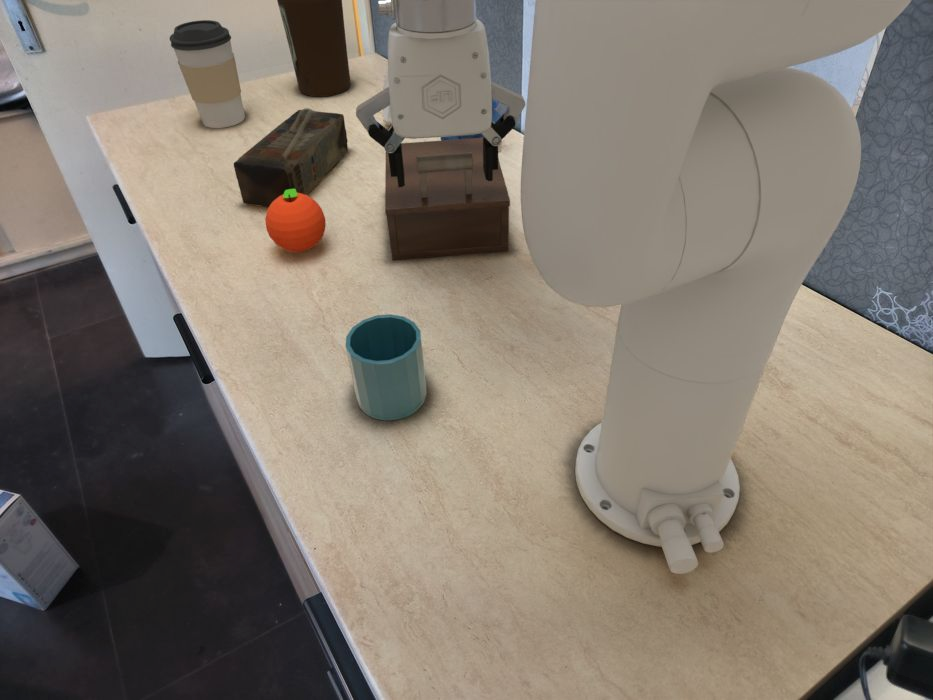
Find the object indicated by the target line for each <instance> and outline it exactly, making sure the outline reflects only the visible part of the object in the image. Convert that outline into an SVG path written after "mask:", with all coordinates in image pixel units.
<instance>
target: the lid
mask: <svg viewBox="0 0 933 700" xmlns="http://www.w3.org/2000/svg"><path fill="white" fill-rule="evenodd" d="M401 146H402V156H403V166H404V179H405V186H403V187H398V180H397V177H391V173H390V164H389V155H388V153H387V152H386V151H385V180H384V181H385V185H384V189H385V191H384V194H385V195H384V198H385V199H384V201H385V202H384V210H385V216H386V217H387V215H401V214H414V213H428V212H441V211H455V210H468V209H482V208H495V207H508V206H509V207H511V199H510V195H509V191H508V189H507V185H506V181H505V177H504V174H503V170H502V167H501V164H500V159H499V158H498V170H493V181H488V180H486V178H485V174H484V169H483V138H471V139H456V140H442V141H441V140H430V141H413V142H401Z"/></svg>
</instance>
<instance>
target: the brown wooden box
mask: <svg viewBox="0 0 933 700" xmlns="http://www.w3.org/2000/svg"><path fill="white" fill-rule="evenodd" d="M386 223H387V231H388V236H389V237H388V238H389V245H390V253H391V260H392V261H400V260H401V261H402V260H412V259H413V260H414V259H425V258H427V259H428V258H439V257H451V256H453V257H454V256H463V255H465V256H466V255H476V254H478V255H479V254H490V253H503V252H509V240H510V239H509V238H510V237H509V235H510V234H509V233H510V230H509V229H510V206H508V207H495V208H482V209H468V210H455V211H441V212H428V213H414V214H401V215H387V216H386Z"/></svg>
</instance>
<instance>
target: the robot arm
mask: <svg viewBox="0 0 933 700" xmlns="http://www.w3.org/2000/svg"><path fill="white" fill-rule="evenodd" d="M377 1H378V11H379V12H378V13H379V16H387V17H388V18H389V17H392V20H393V21H394V20H395V22H394V23H393V24H392V25H391V26H390V28H389V30H388V39H387V40H388V41H387V68H388V80H389V87H388V88H386V89H384V90H383V89H382V90H381V91H380V92H378V93H376V94H375V95H373V96H371V97H370V98H368V99H366V100H365V101H363V102H361V103H360V104H359V105H357V106H356V108H355V110H356V111H355V116H356V118H357V120H358V121H359V122H360V124H361V125H362V126H363V128H364V129H365V130H366V131H367V134H368V136H369V137H370V138H371V139H372V140H373V141H375V142H376V143H377V144H379V145H380V146H381V147H383V148H384V151H385V153H386V152H387V153H388V155H389V164H390V173H391V177H397V180H398V187H403V186H405V179H404V166H403V156H402V146H401V143H403V141H404V140H405V139H408V140H409V139H410V140H411V139H413V140H414V139H430V138H432V139H433V138H441V137H449V136H464V135H474V134H480V133H481V134H482V135H483V136H484V138H483V169H484V174H485V178H486V180H488V181H493V170H498V159H499V146H500V145H501V144H502V141H503V139H504V138H506V137H507V135H508V134H510V132H511V131H512V130H513V129H514V128H515V127H516V124H517V121H518V119H519V118H520V116H521V114H522V112H523V111H524V109H525V107H526V109H525V120H524V130H523V131H524V133H523V142H522V143H523V144H522V156H521V170H520V210H521V213H520V214H521V222H522V223H521V224H522V230H523V234H524V238H525V243H526V246H527V249H528V253H529V255H530V258H531V260H532V263H533V265H534V267H535V269H536V270H537V272H538V274H539V275H540V277H541V278H542V279H543V281H544V282H545V284H546V285H547V286H548V287H549V288H550V289H551V290H552V292H553V291H554V292H555V293H556V294H557V295H559V296H560V297H562V298H563V299H565V300H567V301H569V302H571V303H574V304H577V305H580V306H584V307H589V308H611V307H617V306H620V308H619V309H620V310H619V316H618V320H617V326H616V331H615V338H614V344H613V345H614V346H613V349H612V356H611V363H610V369H609V375H608V382H607V387H606V393H605V401H604V407H603V414H602V420H601V422H599V423H598V424H597V425H595V426H594V427H593V428H592V429H590V431H589V432H588V433H587V434H586V435H585V436H584V438H583V439H582V440H581V443H580V445H579V446H578V449H577V453H576V459H575V469H574V474H575V481H576V487H577V489H578V492H579V494H580V496H581V498H582V500H583V501H584V503H585V504H586V505H587V508H588V509H589V510H590V511H591V513H593V514H594V516H595V517H596V518H597V519H598V520H599V521H600V522H601V523H603V524H604V525H605V526H607V527H608V528H609V529H611V530H612V531H613V532H616V533H618V534H619V535H621V536H623V537H625V538H626V539H629V540H633V541H635V542H638V543H641V544H644V545H649V546H655V547H659V548H662V552H663V555H664V557H665V560H666V563H667V565H668V568H669V570H670V571H669V572H671V573H672V574H676V575H684V574H688V573H691V572H692V571H694V570H695V569H697V568H698V566H699V561H698V557H697V555H696V553H695V551H694V548H693V545H696V544H698V543H701V545H702V548H703V550H704V552H706V553H710V554H711V553H716V552H719V551H721V550H722V549H723V548H724V547H725V543H724V541H723V539H722V536H721V533H720V532H721V531H722V530H723V529H724V528H725V527H726V526H727V525H728V524H729V522H730V520H731V519H732V517H733V515H734V513H735V511H736V508H737V505H738V503H739V499H740V489H741V485H740V478H739V474H738V471H737V469H736V467H735V463H734V461H733V460H732V456H733V453H734V451H735V448H736V445H737V443H738V440H739V437H740V435H741V432H742V430H743V427H744V425H745V422H746V420H747V417H748V414H749V412H750V408H751V406H752V404H753V401H754V399H755V395H756V392H757V390H758V388H759V385H760V382H761V380H762V376H763V375H764V373H765V371H766V367H767V364H768V361H769V360H770V357H771V355H772V353H773V350H774V348H775V345H776V342H777V340H778V338H779V334H780V332H781V330H782V328H783V325H784V322H785V319H786V317H787V315H788V313H789V312H790V311H789V310H790V309H791V307H792V304H793V302H794V300H795V298H796V297H797V294H798V292H799V290H800V289H801V287H802V285H803V283H804V281H805V279H806V278H807V276H808V275H809V273H810V271H811V269H812V268H813V266H814V265H815V263H816V262H817V260H818V259H819V257H820V255H821V254H822V252H823V251H824V249H825V248H826V246H827V244H828V243H829V242H830V239H831V238H832V236H833V234H834V233H835V231H836V230H837V228H838V226H839V224H840V223H841V220H842V219H843V217H844V215H845V213H846V211H847V209H848V207H849V204H850V202H851V199H852V197H853V194H854V191H855V189H856V186H857V182H858V179H859V174H860V168H861V161H862V160H861V159H862V140H861V139H862V138H861V134H860V128H859V124H858V121H857V118H856V116H855V113H854V111H853V108H852V107H851V106H850V104H849V102H848V100H847V99H846V98H845V97H844V96H843V94H842V93H841V92H840V91H839V90H838V89H837V87H835V86H833V85H832V84H831V83H829V81H827V80H825V79H824V78H822V77H820V76H818V75H815V74H813V73H812V72H808V71H805V70H801V69H798V68H794V66H798V65H803V64H805V63H810V62H813V61H816V60H820V59H823V58H826V57H829V56H832V55H836V54H839V53H841V52H844V51H846V50H848V49H851V48H853V47H857V46H858V45H861V44H862V43H865V42H866V41H868V40H869V39H871V38H873V37H874V36H876V35H878V34H880V33H881V32H883V31H884V30H885V29H887V28H888V27H889V26H890V25H891V24H892V23H893V22H894V21H895V20H896V19H898V17H899V16H900V15H901V13H902V12H903V11H904V10H905V9H906V8H907V7H908V6H909V5H910V3H911V2H912V0H535V5H534V15H533V25H532V39H531V50H530V59H529V60H530V61H529V71H528V72H529V73H528V74H529V75H528V82H527V83H528V84H527V85H528V86H527V95H526V96H527V97H526V100H525V98H524V96H523V95H521V94H520V93H517V92H515V91H513V90H512V89H508V88H506V87H504V86H503V85H500V84H498V83H497V82H494V81H492V76H491V62H490V52H489V44H488V38H487V31H486V28H485V25H484V23H483V22H482V21H481V20H479V19H478V18H477V0H377ZM492 99H493V100H496V101H498V102H499V104H502V105H504V106H507V107H506V110H505V112H504V113H503V114H502V115H500V118H499V119H498V121H497V122H496V123H494V122H493V121H492ZM389 105H390V109H391V118H392V125H390V127H389V128H386V127H385V126H384V125H383V124H382V123H380V122H379V121H377V119H376V117H375V115H376V114H377V113H379V112H381V111H383V109H384V108H386V107H387V106H389Z"/></svg>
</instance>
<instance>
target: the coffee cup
mask: <svg viewBox="0 0 933 700" xmlns="http://www.w3.org/2000/svg"><path fill="white" fill-rule="evenodd" d="M231 39H232V35H231V34H230V31H229V29H228V28H227V27H224V26H222V24H221V23H220V22H219V21H217V20H211V19H210V20H209V19H207V20H206V19H203V20H193V21H188V22H184V23H181V24H178V25H177V26H175V27H174V29H173V33H172V34H171V35H170V36H169V41H170V47H171V48H173V51H174V53H175V56H176V58H177V64H178V66H179V67H178V68H179V69H180V72H181V75H182V76H183V77H182V78H183V79H184V82H185V84H186V86H187V89H188V92H189V94H190V97H191V99H192V101H193V102H194V104H195V106H196V109H197V112H198V114H199V117H200V119H201V122H202V125H203V126H204V127H207V128H211V129H222V128H223V129H224V128H229V127H234V126H236V125H239V124H240V123H242V122H243V121H244V120H245V119H246V115H245V110H244V109H245V108H244V105H243V100H242V89H241V83H240V78H239V74H238V69H237V62H236V58H235V57H236V56H235V53H234V52H233V48H232V42H231Z"/></svg>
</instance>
